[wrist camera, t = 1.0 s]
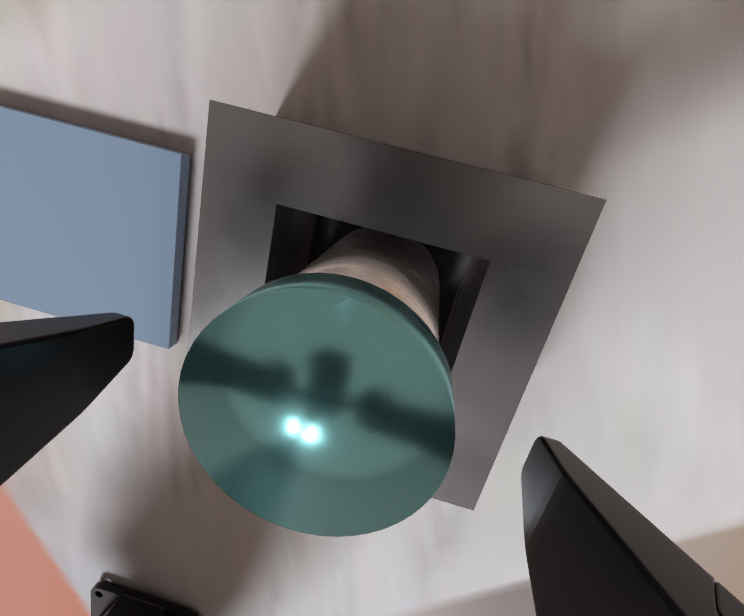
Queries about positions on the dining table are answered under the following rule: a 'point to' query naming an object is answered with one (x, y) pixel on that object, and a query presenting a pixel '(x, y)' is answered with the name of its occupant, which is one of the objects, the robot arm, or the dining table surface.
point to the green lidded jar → (327, 391)
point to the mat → (91, 223)
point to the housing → (408, 220)
